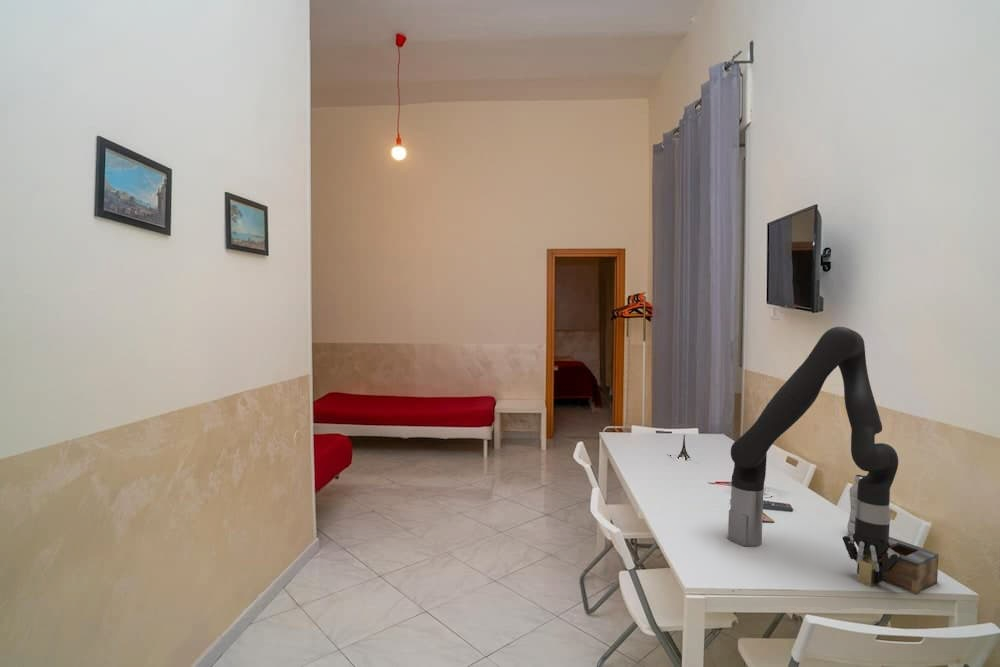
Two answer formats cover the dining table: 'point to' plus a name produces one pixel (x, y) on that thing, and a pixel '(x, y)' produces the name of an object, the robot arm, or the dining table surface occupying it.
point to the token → (866, 571)
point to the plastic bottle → (853, 504)
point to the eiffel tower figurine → (684, 451)
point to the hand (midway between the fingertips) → (869, 580)
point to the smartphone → (767, 519)
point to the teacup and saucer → (765, 489)
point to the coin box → (911, 567)
